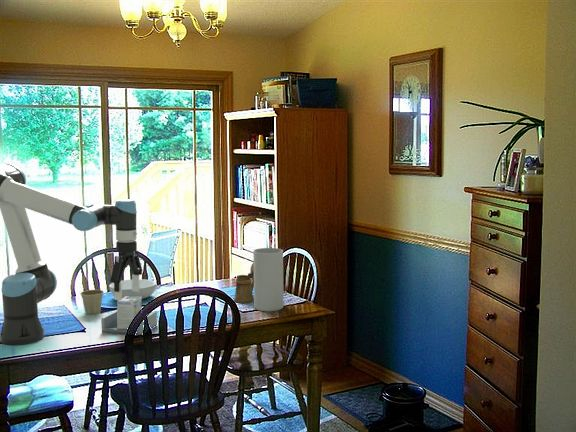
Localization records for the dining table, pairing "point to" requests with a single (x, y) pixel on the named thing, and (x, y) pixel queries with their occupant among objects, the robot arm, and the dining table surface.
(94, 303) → the flower pot
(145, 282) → the serving bowl
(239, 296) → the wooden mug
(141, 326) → the end holder
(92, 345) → the dining table surface
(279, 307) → the cylinder vase
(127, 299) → the light bulb box
